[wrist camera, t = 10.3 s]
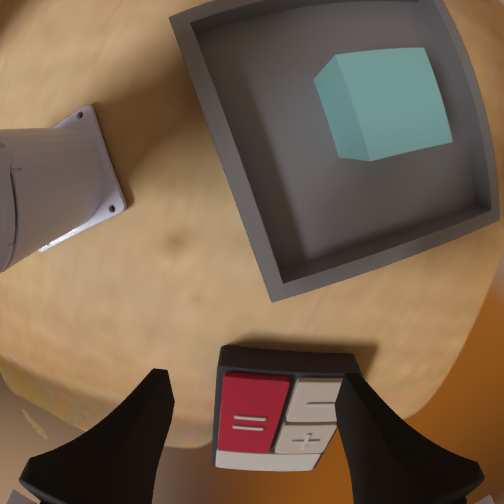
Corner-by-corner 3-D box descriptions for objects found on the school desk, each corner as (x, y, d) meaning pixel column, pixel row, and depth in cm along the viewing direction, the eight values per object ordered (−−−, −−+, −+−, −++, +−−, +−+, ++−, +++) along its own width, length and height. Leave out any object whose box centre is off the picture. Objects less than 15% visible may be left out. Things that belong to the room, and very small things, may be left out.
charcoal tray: (269, 284, 19) (271, 302, 17) (179, 32, 14) (168, 17, 11) (480, 211, 17) (499, 219, 15) (417, -5, 12) (432, -17, 9)
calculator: (367, 378, 18) (315, 475, 23) (352, 346, 23) (310, 446, 27) (216, 371, 18) (210, 471, 23) (221, 337, 22) (213, 441, 27)
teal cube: (338, 157, 16) (370, 161, 11) (313, 79, 14) (335, 54, 10) (407, 140, 15) (452, 142, 11) (384, 68, 14) (423, 47, 9)
